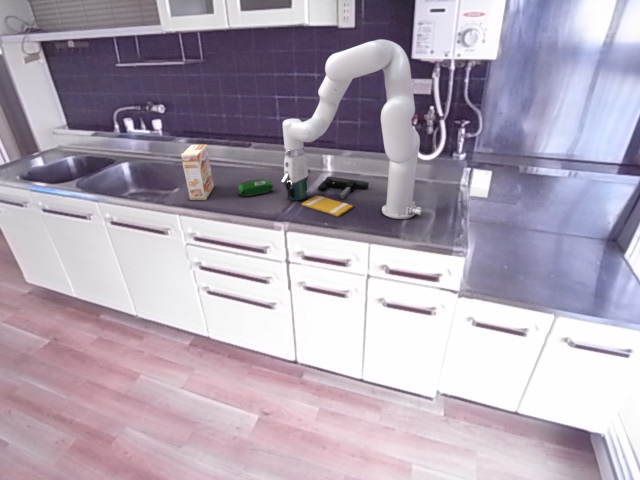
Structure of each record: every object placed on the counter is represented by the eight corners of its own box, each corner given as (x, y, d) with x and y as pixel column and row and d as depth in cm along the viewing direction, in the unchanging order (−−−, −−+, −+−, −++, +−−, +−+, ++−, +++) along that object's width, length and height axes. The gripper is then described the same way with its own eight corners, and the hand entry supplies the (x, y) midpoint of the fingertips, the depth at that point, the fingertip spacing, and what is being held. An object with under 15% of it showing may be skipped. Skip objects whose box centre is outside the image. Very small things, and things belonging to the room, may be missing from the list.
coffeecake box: (206, 200, 157) (197, 154, 147) (189, 200, 157) (179, 155, 147) (214, 186, 170) (207, 143, 160) (199, 187, 170) (190, 144, 160)
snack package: (276, 192, 162) (275, 181, 160) (240, 198, 157) (238, 187, 155) (271, 187, 168) (270, 176, 165) (236, 192, 163) (235, 181, 160)
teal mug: (309, 195, 157) (308, 177, 153) (298, 201, 152) (297, 183, 148) (292, 190, 162) (290, 173, 158) (280, 196, 158) (279, 178, 154)
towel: (352, 207, 147) (352, 205, 147) (338, 216, 141) (338, 214, 140) (317, 196, 157) (316, 194, 157) (301, 205, 150) (301, 203, 150)
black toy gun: (357, 195, 151) (369, 179, 163) (312, 188, 159) (328, 174, 171) (357, 202, 153) (369, 186, 165) (313, 195, 161) (328, 180, 172)
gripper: (286, 159, 139) (290, 203, 148) (315, 147, 151) (317, 189, 160) (272, 156, 143) (276, 198, 152) (301, 145, 155) (304, 185, 164)
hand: (297, 193), depth 156 cm, fingers closed on teal mug, 7 cm apart
